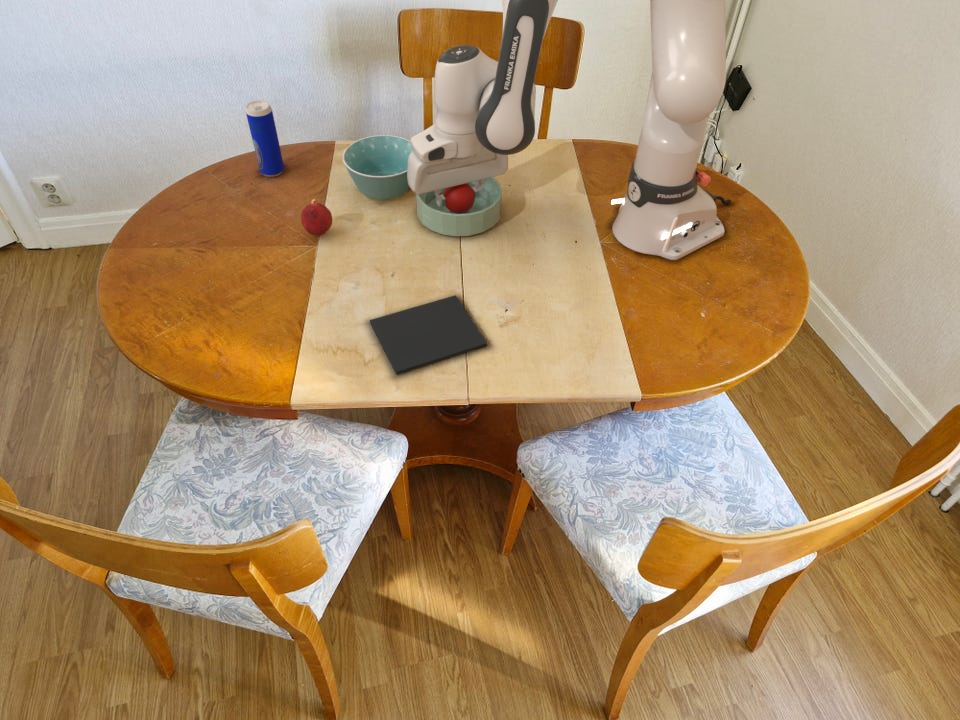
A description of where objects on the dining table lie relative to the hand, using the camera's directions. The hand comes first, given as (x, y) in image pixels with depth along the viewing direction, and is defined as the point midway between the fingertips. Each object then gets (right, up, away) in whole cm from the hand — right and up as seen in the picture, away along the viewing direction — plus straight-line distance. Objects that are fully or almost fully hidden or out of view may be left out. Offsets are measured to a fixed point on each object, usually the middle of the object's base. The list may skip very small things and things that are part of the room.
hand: (458, 200), depth 139 cm
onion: (-27, -8, -4) cm, 28 cm away
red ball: (0, -2, +2) cm, 2 cm away
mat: (-5, -28, -22) cm, 36 cm away
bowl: (-16, +4, +8) cm, 18 cm away
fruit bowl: (0, -2, +2) cm, 3 cm away
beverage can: (-41, +9, +11) cm, 43 cm away
